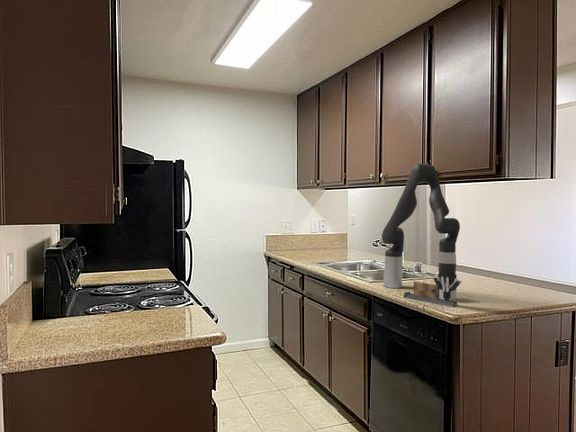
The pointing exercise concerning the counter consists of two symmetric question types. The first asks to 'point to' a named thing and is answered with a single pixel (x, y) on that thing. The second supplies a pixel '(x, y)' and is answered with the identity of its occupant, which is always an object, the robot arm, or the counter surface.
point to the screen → (426, 290)
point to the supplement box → (453, 293)
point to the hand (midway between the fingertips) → (446, 299)
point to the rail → (430, 300)
